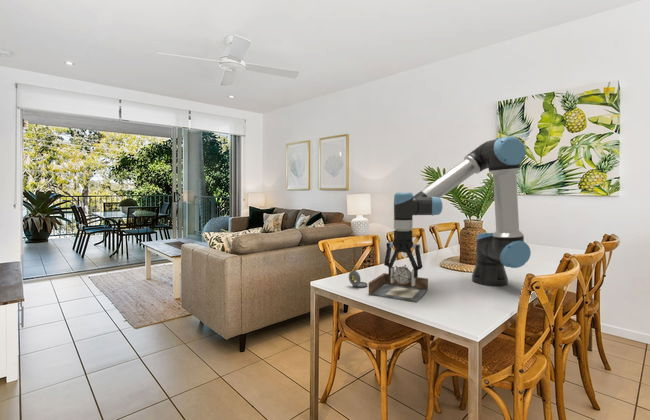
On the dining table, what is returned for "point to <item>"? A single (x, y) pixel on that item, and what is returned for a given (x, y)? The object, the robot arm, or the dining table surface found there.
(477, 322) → the dining table surface
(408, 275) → the game die
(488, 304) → the dining table surface
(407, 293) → the tray
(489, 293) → the dining table surface
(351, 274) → the pocket watch
